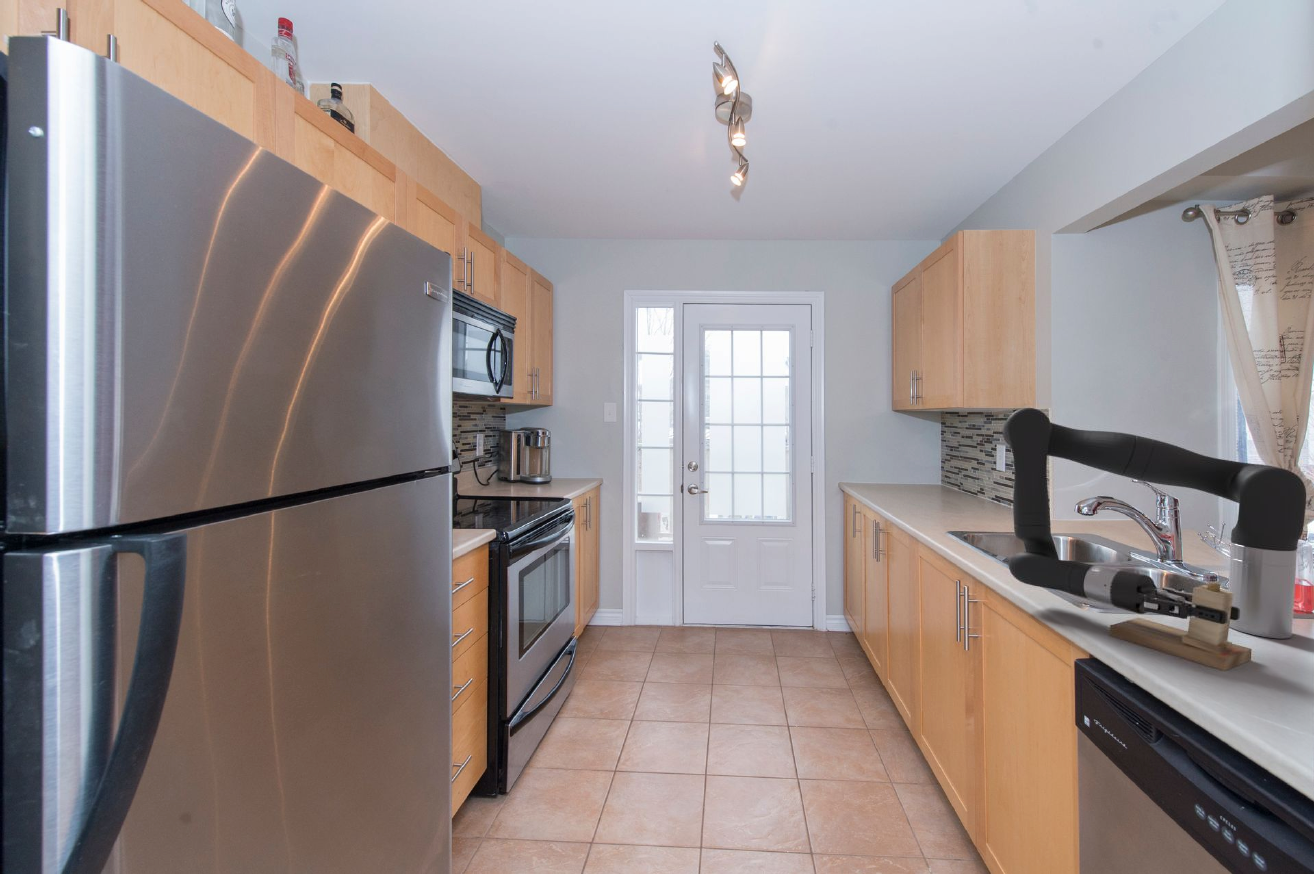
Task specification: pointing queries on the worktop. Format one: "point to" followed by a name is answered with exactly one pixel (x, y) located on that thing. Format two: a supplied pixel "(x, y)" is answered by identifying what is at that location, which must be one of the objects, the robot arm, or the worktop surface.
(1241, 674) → the worktop surface
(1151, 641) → the plank
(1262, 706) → the worktop surface
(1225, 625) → the pale wood tall block
